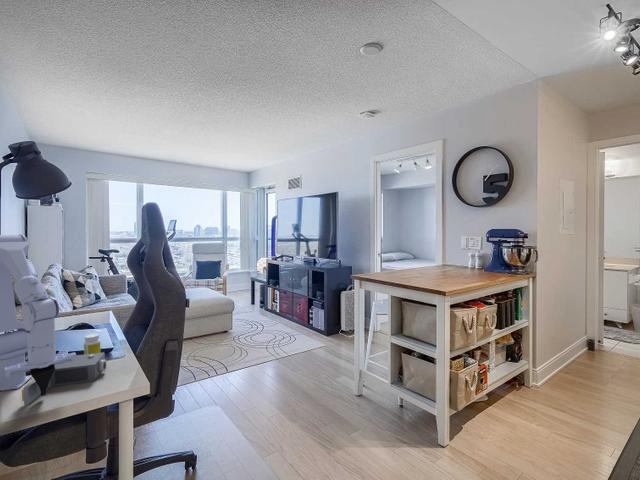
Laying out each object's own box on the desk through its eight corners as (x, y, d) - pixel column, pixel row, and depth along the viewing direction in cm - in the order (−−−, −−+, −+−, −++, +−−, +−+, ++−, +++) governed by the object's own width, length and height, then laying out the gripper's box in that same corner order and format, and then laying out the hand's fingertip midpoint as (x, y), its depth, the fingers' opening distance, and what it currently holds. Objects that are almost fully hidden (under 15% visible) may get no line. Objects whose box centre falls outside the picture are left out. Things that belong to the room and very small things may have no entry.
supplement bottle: (103, 356, 118) (103, 333, 118) (93, 362, 113) (93, 338, 113) (91, 356, 118) (90, 333, 118) (80, 361, 114) (80, 337, 113)
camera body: (46, 387, 96) (46, 368, 96) (61, 372, 105) (60, 355, 105) (100, 380, 100) (100, 362, 100) (109, 366, 110) (109, 350, 109)
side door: (44, 386, 95) (43, 371, 95) (50, 386, 96) (50, 370, 96) (21, 404, 86) (20, 387, 86) (28, 404, 86) (27, 387, 86)
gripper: (4, 356, 81) (6, 410, 81) (77, 341, 91) (78, 390, 91) (4, 348, 86) (6, 399, 86) (73, 335, 96) (74, 381, 96)
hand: (43, 394), depth 89 cm, fingers closed
